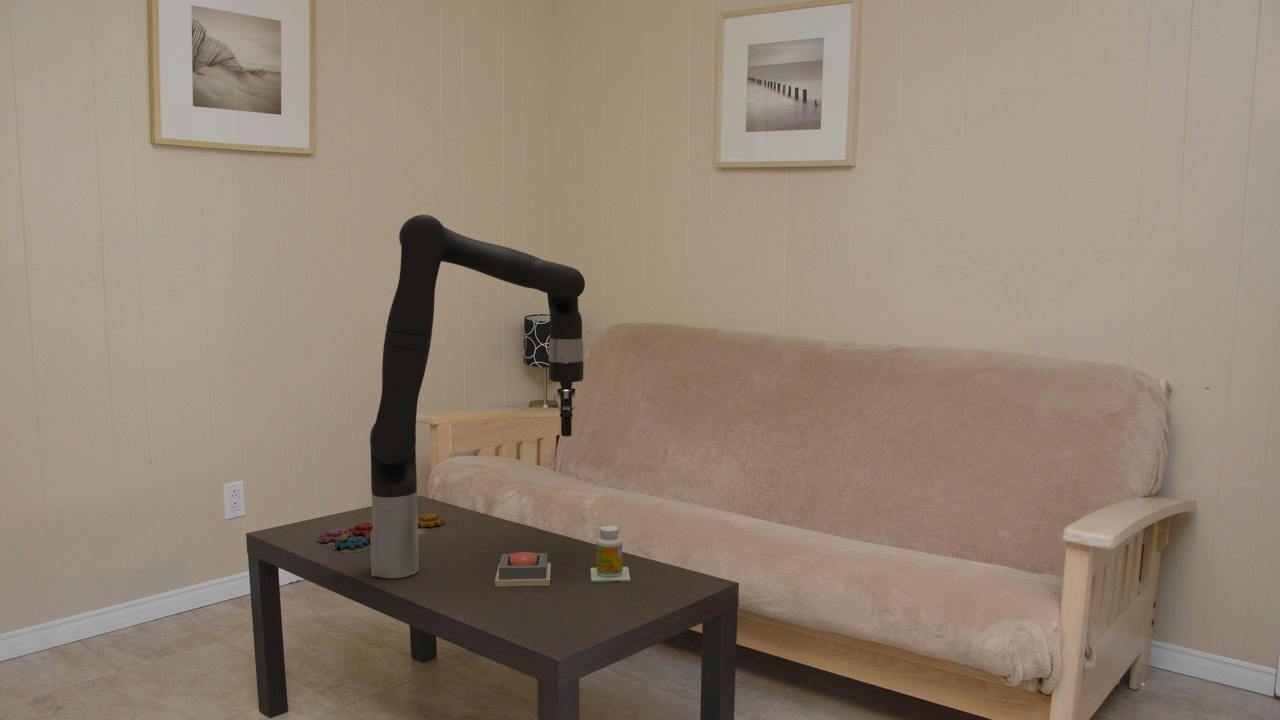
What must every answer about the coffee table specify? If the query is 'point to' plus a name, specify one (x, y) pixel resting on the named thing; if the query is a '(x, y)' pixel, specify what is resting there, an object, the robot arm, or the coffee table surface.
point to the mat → (621, 577)
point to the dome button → (523, 558)
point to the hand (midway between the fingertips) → (566, 432)
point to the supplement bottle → (609, 552)
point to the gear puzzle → (363, 531)
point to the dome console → (523, 572)
